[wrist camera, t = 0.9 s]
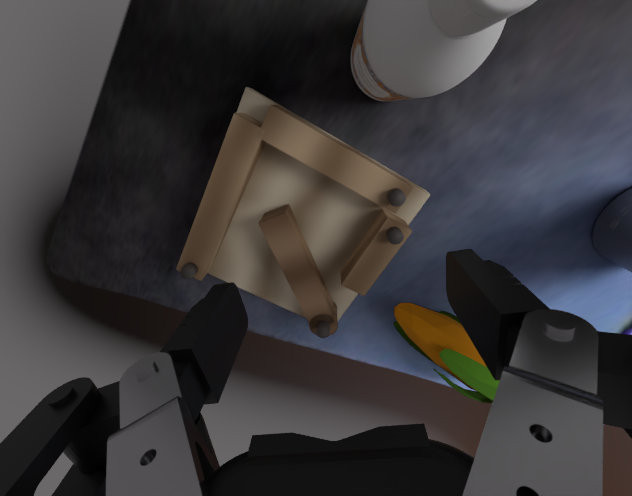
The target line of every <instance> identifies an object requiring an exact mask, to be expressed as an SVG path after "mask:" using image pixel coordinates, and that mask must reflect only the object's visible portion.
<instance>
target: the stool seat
mask: <svg viewBox="0 0 632 496" xmlns="http://www.w3.org/2000/svg"><path fill="white" fill-rule="evenodd" d="M430 195H431V194H430V193H428V192H427V191H426V190H425V189H423V188H421V187H420V186H418V185H416V184H415V183H413V182H411V181H409V180H408V179H406V178H404V177H403V176H401V175H399V174H397V173H396V172H394V171H392V170H391V169H389V168H387V167H385V166H384V165H382V164H380V163H379V162H377V161H375V160H373V159H372V158H370V157H368V156H367V155H365V154H363V153H361V152H360V151H358V150H356V149H355V148H353V147H351V146H349V145H348V144H346V143H344V142H343V141H341V140H339V139H337V138H336V137H334V136H332V135H331V134H329V133H327V132H326V131H324V130H322V129H320V128H319V127H317V126H315V125H314V124H312V123H310V122H308V121H307V120H305V119H303V118H302V117H300V116H298V115H296V114H295V113H293V112H291V111H290V110H288V109H286V108H284V107H283V106H281V105H279V104H278V103H276V102H274V101H272V100H271V99H269V98H267V97H266V96H264V95H262V94H260V93H259V92H257V91H255V90H254V89H252V88H248V87H246V88H245V91H244V94H243V96H242V99H241V102H240V104H239V107H238V110H237V112H236V113H234V114H233V117H232V120H231V122H230V125H229V128H228V131H227V133H226V136H225V139H224V141H223V144H222V147H221V149H220V152H219V155H218V158H217V160H216V163H215V166H214V168H213V171H212V174H211V176H210V179H209V182H208V185H207V187H206V190H205V193H204V195H203V198H202V201H201V203H200V206H199V209H198V211H197V214H196V217H195V220H194V222H193V225H192V228H191V230H190V233H189V236H188V238H187V241H186V244H185V247H184V249H183V252H182V255H181V257H180V260H179V263H178V265H177V268H176V270H177V271H179V272H180V273H181V276H182V277H183V278H185V279H192V278H195V279H197V280H200V281H202V279H203V278H204V277H205V275H206V274H207V273H208V274H210V275H212V276H214V277H217V278H219V279H221V280H223V281H225V282H228V283H231V282H233V283H235V284H236V286H237V287H239V288H241V289H243V290H245V291H247V292H250V293H252V294H254V295H256V296H258V297H261V298H263V299H265V300H267V301H269V302H272V303H274V304H276V305H278V306H280V307H283V308H285V309H287V310H289V311H291V312H294V313H296V314H298V315H300V316H302V317H305V318H306V316H305V314H304V312H303V310H302V308H301V306H300V304H299V303H298V301H297V299H296V297H295V295H294V293H293V291H292V289H291V287H290V285H289V283H288V281H287V279H286V277H285V275H284V273H283V271H282V269H281V267H280V265H279V263H278V261H277V259H276V257H275V255H274V254H273V252H272V250H271V248H270V246H269V244H268V242H267V240H266V238H265V236H264V234H263V232H262V230H261V228H260V226H259V224H258V223H259V221H260V220H261V218H262V217H263V215H264V213H267V212H269V211H272V210H274V209H277V208H280V207H282V206H285V205H287V204H289V205H290V207H291V210H292V212H293V214H294V216H295V218H296V221H297V223H298V225H299V227H300V230H301V232H302V234H303V236H304V238H305V241H306V243H307V245H308V247H309V250H310V252H311V254H312V256H313V258H314V261H315V263H316V265H317V267H318V270H319V272H320V274H321V276H322V278H323V281H324V283H325V285H326V287H327V290H328V292H329V294H330V296H331V298H332V301H333V302H334V303H335V304H336V306H337V320H338V321H339V319H340V318H341V316H342V315H343V314H344V312H345V311H346V310H347V308H348V307H349V306H350V304H351V303H352V301H353V300H354V299H355V297H356V296H357V295H358V294H360V295H362V296H365V294H366V293H367V292H368V290H369V289H370V288H371V286H372V285H373V284H374V282H375V281H376V280H377V278H378V277H379V276H380V274H381V273H382V272H383V270H384V269H385V268H386V266H387V265H388V264H389V262H390V261H391V260H392V258H393V257H394V256H395V254H396V253H397V252H398V250H399V249H400V248H401V246H402V245H403V244H404V242H405V241H406V240H407V238H408V237H409V236H410V234H411V233H412V231H411V229H410V228H409V226H408V225H409V224H410V222H411V221H412V220H413V218H414V217H415V216H416V214H417V213H418V212H419V210H420V209H421V207H422V206H423V205H424V203H425V202H426V201H427V199H428V198H429V197H430Z"/></svg>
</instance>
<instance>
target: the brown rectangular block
mask: <svg viewBox="0 0 632 496" xmlns="http://www.w3.org/2000/svg"><path fill="white" fill-rule="evenodd" d="M258 224H259V226H260V228H261V230H262V232H263V234H264V236H265V238H266V240H267V242H268V244H269V246H270V248H271V250H272V252H273V254H274V255H275V257H276V259H277V261H278V263H279V265H280V267H281V269H282V271H283V273H284V275H285V277H286V279H287V281H288V283H289V285H290V287H291V289H292V291H293V293H294V295H295V297H296V299H297V301H298V303H299V304H300V306H301V308H302V310H303V312H304V314H305V316H306V318H307V320H308V322H309V327H310V330H311V331H312V332H313V333H314V334H316V335H318V336H319V337H321V338H326V337H328V336H330V335H332V334H333V333H335V332H336V330H337V328H338V320H337V306H336V304H335V303H334V302H333V301H332V298H331V296H330V294H329V292H328V290H327V287H326V285H325V283H324V281H323V278H322V276H321V274H320V272H319V270H318V267H317V265H316V263H315V261H314V258H313V256H312V254H311V252H310V250H309V247H308V245H307V243H306V241H305V238H304V236H303V234H302V232H301V230H300V227H299V225H298V223H297V221H296V218H295V216H294V214H293V212H292V210H291V207H290V205H289V204H287V205H285V206H282V207H280V208H277V209H274V210H272V211H269V212H267V213H264V215H263V217H262V218H261V220H260V221H259V223H258Z"/></svg>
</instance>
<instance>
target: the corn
mask: <svg viewBox="0 0 632 496" xmlns="http://www.w3.org/2000/svg"><path fill="white" fill-rule="evenodd" d="M394 314H395V318H396V320H397V321H395V322H394V326H395V328H396V329H397V331H398V332H399V333H400V334H401V336H402V337H403V338H404V339H405V340H406V341H407V342H408V343H409V344H410V345H411V346H412V347H414V348H415V349H416V350H417V351H419V352H420V353H421V354H423V355H424V356H425V357H426V358H428V359H429V360H431V361H432V362H434V363H435V364H437V365H438V366H440V367H441V368H443V369H444V370H446V371H447V372H448V373H450V374H451V375H452V376H454V377H455V378H457V379H458V380H459V381H461V382H462V383H463V384H465V385H466V386H468V387H469V388H471V389H473V390H476V391H471V390H466V389H463V388H461V387H460V386H458V385H456V384H454V383H453V382H451V381H450V380H449V379H448V378H447V377H445V376H444V375H442V374H440V373H439V372H437V371H436V370H435V369H434V370H435V371H436V372H437V373H438V374H439V375H440V376H441V377H442V378H443V379H444V380H445V381H446V382H447V383H448V384H449V385H450V386H452V387H453V388H454V389H456V390H457V391H458V392H460V393H461V394H463V395H464V396H467V397H469V398H472V399H474V400H477V401H481V402H484V403H493V400H494V397H495V394H496V391H497V388H498V385H499V382H500V380H497V381H495V380H494V378H493V376H492V375H491V373H490V371H489V370H488V368H487V366H486V364H485V363H484V361H483V359H482V358H481V356H480V354H479V353H478V351H477V349H476V348H475V346H474V344H473V343H472V341H471V339H470V338H469V336H468V334H467V333H466V331H465V329H464V328H463V326H462V324H461V323H460V321H459V319H458V317H456V316H454V315H452V314H450V313H448V312H445V311H440V312H435V311H432V310H429V309H427V308H424V307H421V306H418V305H415V304H412V303H399V304H398V305H397V306H396V307H394Z"/></svg>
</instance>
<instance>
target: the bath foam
mask: <svg viewBox="0 0 632 496" xmlns="http://www.w3.org/2000/svg"><path fill="white" fill-rule="evenodd" d="M535 1H537V0H367V3H366V6H365V9H364V12H363V15H362V18H361V20H360V23H359V26H358V29H357V32H356V35H355V38H354V42H353V45H352V50H351V69H352V74H353V77H354V79H355V81H356V83H357V85H358V87H359V88H360V89H361V90H362V91H363V92H364V93H365V94H366V95H367V96H369V97H371V98H373V99H375V100H378V101H400V100H409V99H418V98H427V97H432V96H435V95H438V94H441V93H443V92H445V91H447V90H449V89H451V88H453V87H454V86H456V85H457V84H459V83H460V82H462V81H463V80H465V79H466V78H467V77H468V76H470V75H471V74H472V73H473V72H474V71H475V70H476V69H477V68H478V67H479V66H480V65H481V64H482V63H483V62H484V60H485V59H486V58H487V57H488V55H489V54H490V52H491V51H492V49H493V48H494V46H495V44H496V42H497V41H498V39H499V37H500V35H501V32H502V30H503V28H504V25H505V22H506V19H507V18H508V17H510V16H512V15H514V14H516V13H517V12H519V11H521V10H523V9H525V8H527V7H528V6H530V5H531V4H533V3H534V2H535Z"/></svg>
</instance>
